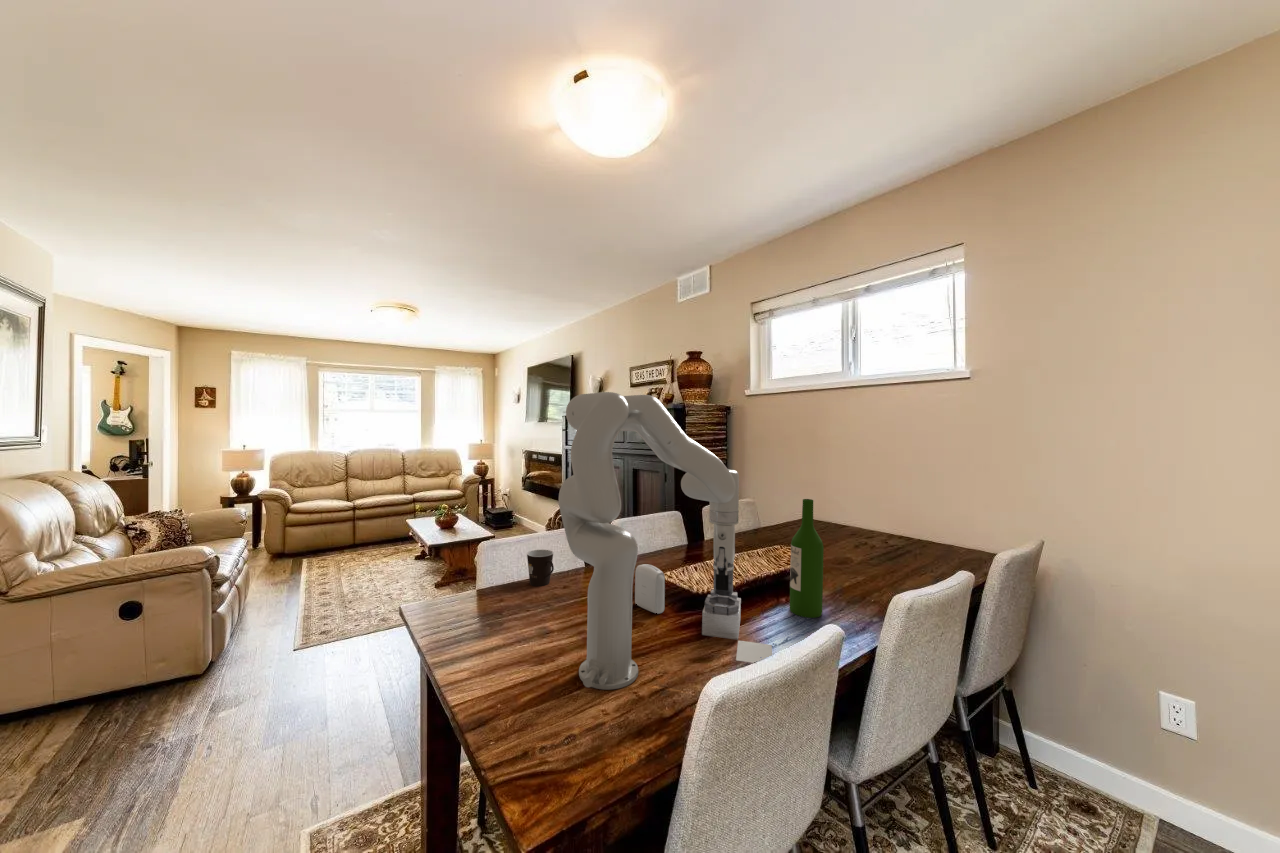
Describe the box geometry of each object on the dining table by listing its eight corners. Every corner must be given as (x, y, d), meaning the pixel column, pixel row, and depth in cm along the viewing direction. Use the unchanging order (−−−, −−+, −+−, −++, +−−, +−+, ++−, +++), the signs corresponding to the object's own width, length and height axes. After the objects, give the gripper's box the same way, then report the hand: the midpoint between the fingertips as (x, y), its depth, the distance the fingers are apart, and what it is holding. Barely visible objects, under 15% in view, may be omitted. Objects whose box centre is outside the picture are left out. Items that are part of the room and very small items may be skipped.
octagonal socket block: (738, 641, 114) (738, 607, 114) (701, 636, 117) (702, 603, 117) (740, 619, 127) (741, 589, 127) (707, 615, 129) (708, 586, 129)
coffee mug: (525, 579, 156) (526, 550, 156) (551, 577, 159) (551, 548, 159) (527, 591, 145) (528, 560, 145) (555, 589, 148) (556, 558, 148)
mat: (772, 667, 102) (772, 665, 102) (735, 661, 104) (736, 660, 104) (771, 646, 112) (771, 644, 112) (738, 642, 114) (738, 640, 114)
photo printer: (632, 604, 137) (633, 562, 137) (643, 600, 139) (644, 560, 139) (655, 615, 129) (656, 571, 129) (666, 612, 132) (667, 568, 131)
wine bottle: (782, 607, 136) (785, 497, 136) (807, 604, 139) (809, 496, 139) (803, 619, 128) (806, 502, 128) (829, 615, 131) (831, 501, 131)
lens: (732, 596, 117) (733, 564, 117) (711, 594, 119) (712, 563, 119) (734, 589, 122) (734, 558, 122) (713, 587, 124) (714, 557, 124)
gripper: (736, 524, 111) (735, 599, 111) (740, 511, 128) (739, 576, 128) (705, 522, 113) (704, 596, 113) (712, 509, 130) (711, 574, 130)
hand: (722, 585), depth 121 cm, fingers closed on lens, 5 cm apart
